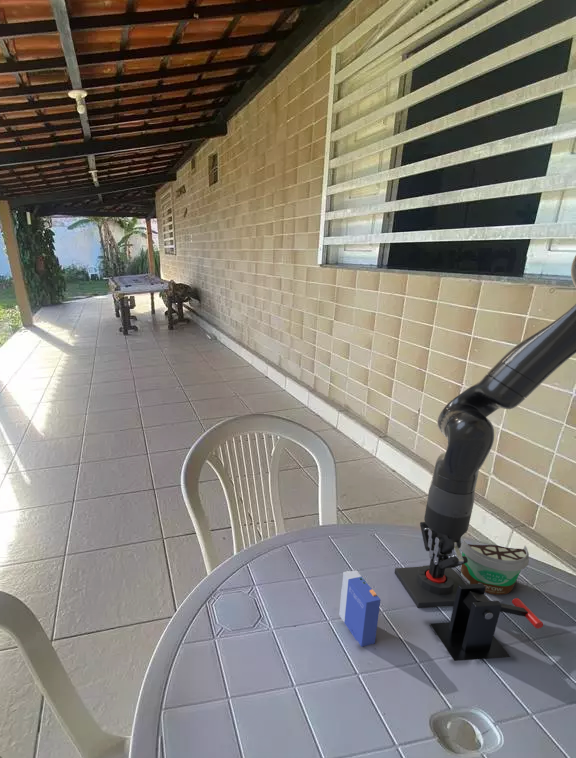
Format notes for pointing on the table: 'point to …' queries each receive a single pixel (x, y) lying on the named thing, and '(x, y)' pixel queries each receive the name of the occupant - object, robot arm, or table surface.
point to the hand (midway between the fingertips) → (435, 575)
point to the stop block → (429, 586)
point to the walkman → (359, 608)
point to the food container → (493, 566)
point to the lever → (506, 607)
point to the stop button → (436, 580)
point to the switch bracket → (471, 628)
